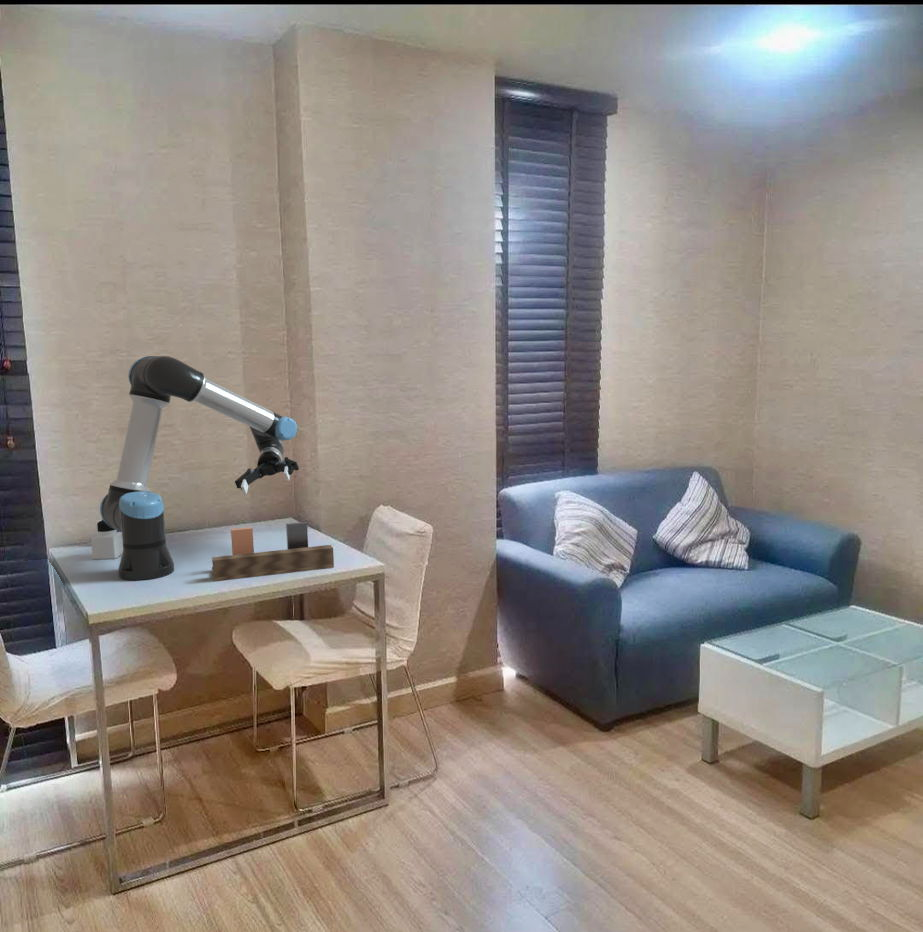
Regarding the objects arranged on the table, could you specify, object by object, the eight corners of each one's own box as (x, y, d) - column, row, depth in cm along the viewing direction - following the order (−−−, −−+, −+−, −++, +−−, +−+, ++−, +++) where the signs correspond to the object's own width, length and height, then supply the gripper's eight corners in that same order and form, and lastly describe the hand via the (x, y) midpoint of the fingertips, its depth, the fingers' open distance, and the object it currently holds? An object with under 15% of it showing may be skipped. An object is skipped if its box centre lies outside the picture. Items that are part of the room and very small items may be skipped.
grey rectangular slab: (288, 560, 233) (286, 525, 232) (287, 559, 235) (285, 523, 233) (308, 558, 235) (307, 523, 234) (307, 557, 237) (306, 521, 236)
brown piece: (214, 581, 218) (212, 560, 217) (212, 570, 229) (210, 550, 228) (334, 567, 230) (333, 547, 229) (326, 557, 241) (325, 538, 240)
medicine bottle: (124, 553, 251) (121, 517, 250) (115, 559, 244) (112, 521, 242) (102, 553, 251) (99, 517, 249) (92, 559, 244) (89, 522, 242)
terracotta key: (233, 567, 228) (231, 530, 226) (233, 565, 230) (230, 529, 228) (254, 564, 230) (252, 528, 228) (254, 563, 232) (251, 527, 230)
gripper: (309, 460, 259) (308, 482, 240) (237, 482, 258) (230, 507, 238) (302, 440, 257) (300, 460, 237) (229, 462, 255) (221, 485, 236)
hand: (265, 483), depth 238 cm, fingers open, 13 cm apart
